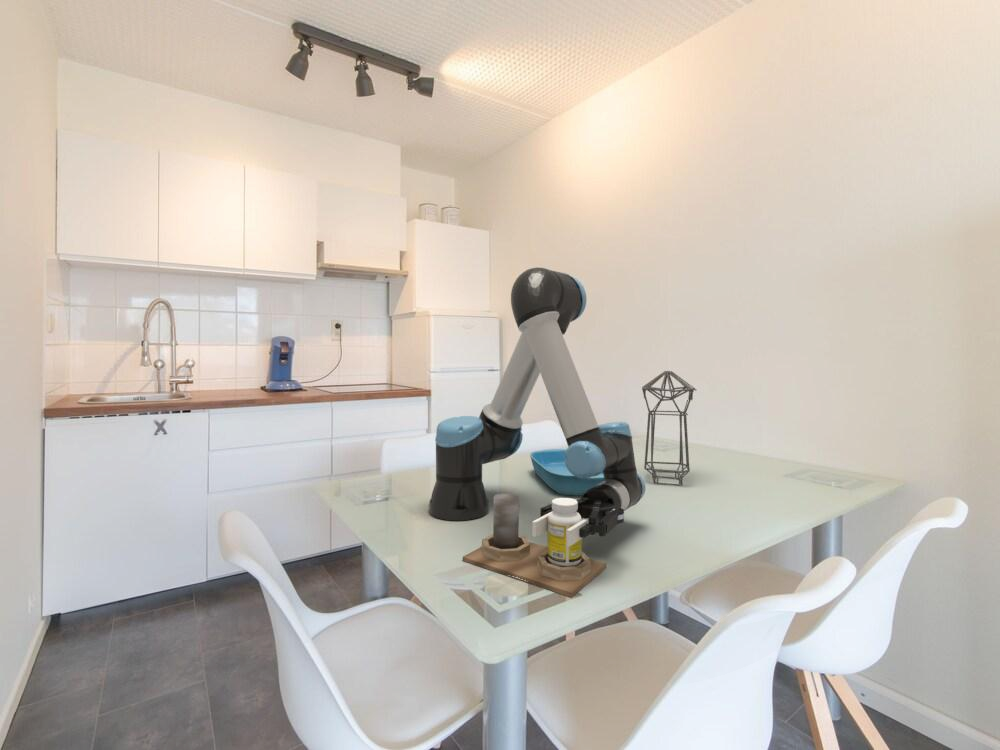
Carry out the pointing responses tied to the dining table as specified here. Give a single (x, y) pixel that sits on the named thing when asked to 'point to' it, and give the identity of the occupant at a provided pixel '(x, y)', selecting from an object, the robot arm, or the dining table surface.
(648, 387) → the geometric lantern
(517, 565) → the socket board
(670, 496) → the dining table surface
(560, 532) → the pill bottle
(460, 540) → the dining table surface
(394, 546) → the dining table surface
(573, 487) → the casserole dish
